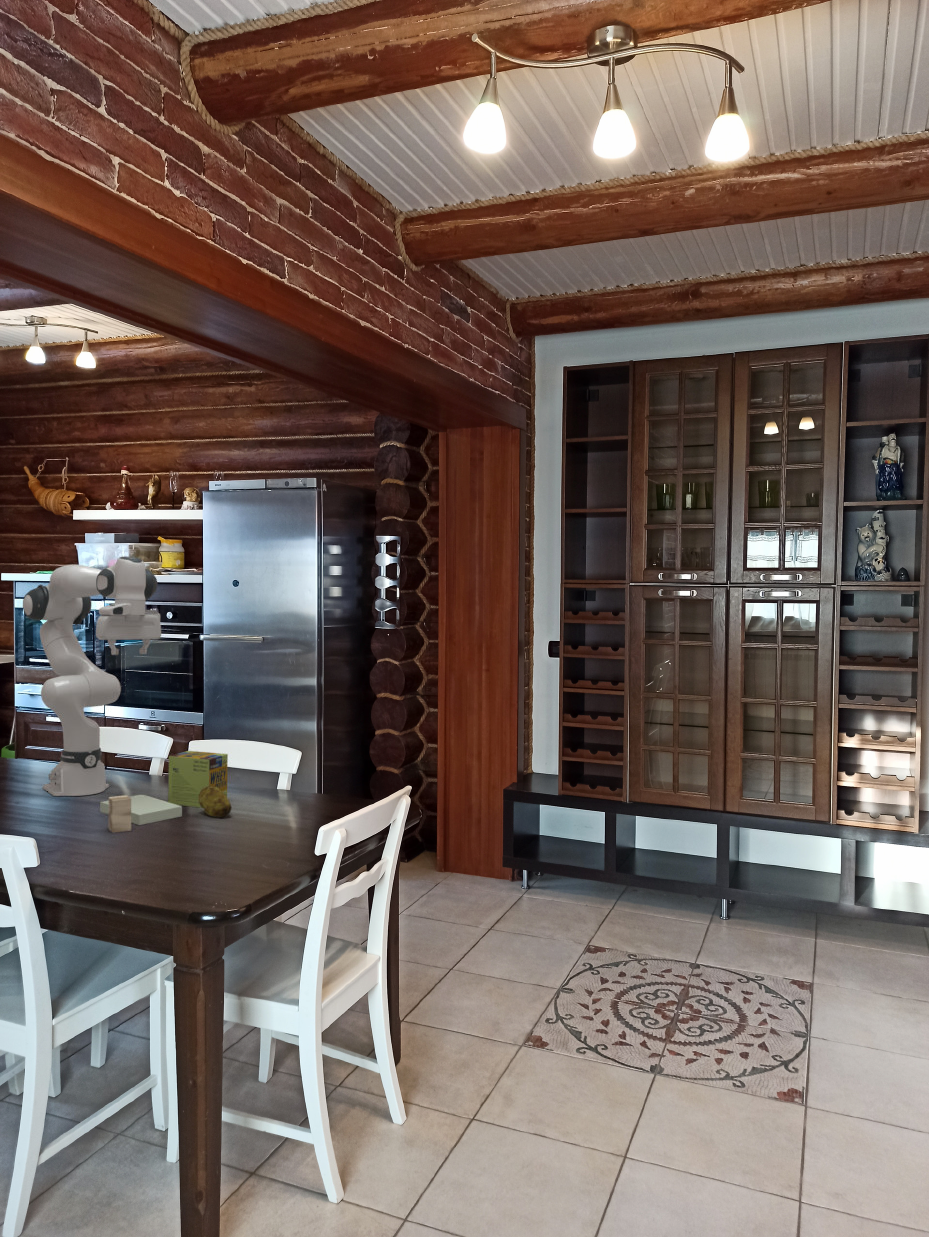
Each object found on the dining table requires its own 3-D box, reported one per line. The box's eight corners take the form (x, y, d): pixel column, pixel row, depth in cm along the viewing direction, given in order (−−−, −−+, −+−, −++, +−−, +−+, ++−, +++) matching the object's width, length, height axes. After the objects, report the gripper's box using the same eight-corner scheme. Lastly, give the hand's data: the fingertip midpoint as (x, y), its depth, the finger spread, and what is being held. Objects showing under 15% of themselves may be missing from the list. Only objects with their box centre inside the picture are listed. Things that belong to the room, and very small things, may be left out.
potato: (204, 821, 268) (204, 794, 268) (196, 810, 280) (196, 785, 279) (233, 818, 272) (233, 791, 272) (223, 808, 283) (223, 782, 283)
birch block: (108, 828, 258) (108, 797, 258) (126, 826, 261) (126, 795, 261) (112, 832, 254) (112, 800, 254) (131, 830, 257) (131, 798, 257)
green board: (100, 811, 276) (100, 802, 276) (142, 803, 287) (142, 794, 287) (139, 825, 262) (139, 814, 262) (181, 816, 273) (181, 806, 273)
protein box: (209, 808, 282) (209, 759, 282) (167, 804, 287) (167, 755, 287) (228, 801, 292) (228, 753, 292) (187, 797, 297) (188, 750, 297)
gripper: (154, 609, 289) (153, 653, 289) (93, 608, 273) (92, 654, 273) (165, 610, 285) (164, 654, 285) (104, 609, 269) (103, 655, 269)
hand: (129, 654), depth 279 cm, fingers open, 8 cm apart
